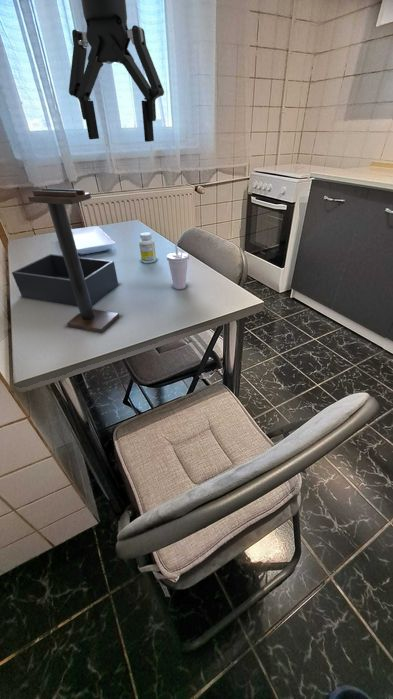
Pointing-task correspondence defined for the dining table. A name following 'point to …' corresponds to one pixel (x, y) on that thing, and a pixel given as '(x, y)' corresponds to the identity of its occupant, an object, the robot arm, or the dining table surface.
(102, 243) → the tray
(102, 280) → the bin
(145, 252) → the supplement bottle
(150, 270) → the dining table surface
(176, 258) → the smoothie
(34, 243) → the dining table surface
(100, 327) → the stand
